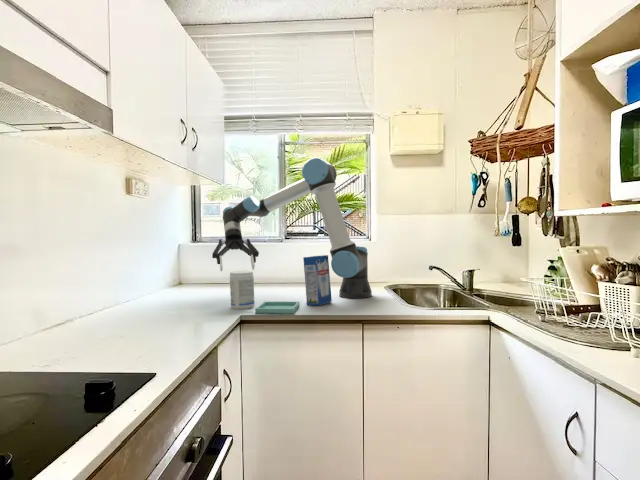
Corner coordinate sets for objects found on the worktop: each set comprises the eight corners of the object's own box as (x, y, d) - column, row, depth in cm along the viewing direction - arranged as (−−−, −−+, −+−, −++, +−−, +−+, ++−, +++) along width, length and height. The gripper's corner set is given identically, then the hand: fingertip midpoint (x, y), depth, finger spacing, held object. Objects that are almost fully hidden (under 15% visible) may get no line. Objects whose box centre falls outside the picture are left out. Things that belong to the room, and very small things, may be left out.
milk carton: (319, 305, 157) (315, 256, 158) (306, 305, 161) (303, 257, 161) (331, 301, 166) (328, 255, 166) (319, 301, 169) (315, 255, 169)
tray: (299, 306, 158) (299, 301, 158) (293, 314, 144) (293, 308, 144) (264, 306, 160) (264, 301, 160) (255, 314, 145) (255, 308, 145)
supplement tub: (257, 305, 162) (257, 270, 162) (249, 310, 153) (248, 273, 152) (236, 304, 164) (235, 270, 164) (226, 309, 155) (225, 272, 154)
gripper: (258, 238, 187) (265, 272, 173) (205, 239, 179) (207, 275, 165) (260, 227, 182) (267, 261, 168) (205, 228, 174) (207, 264, 160)
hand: (237, 268), depth 167 cm, fingers open, 13 cm apart
